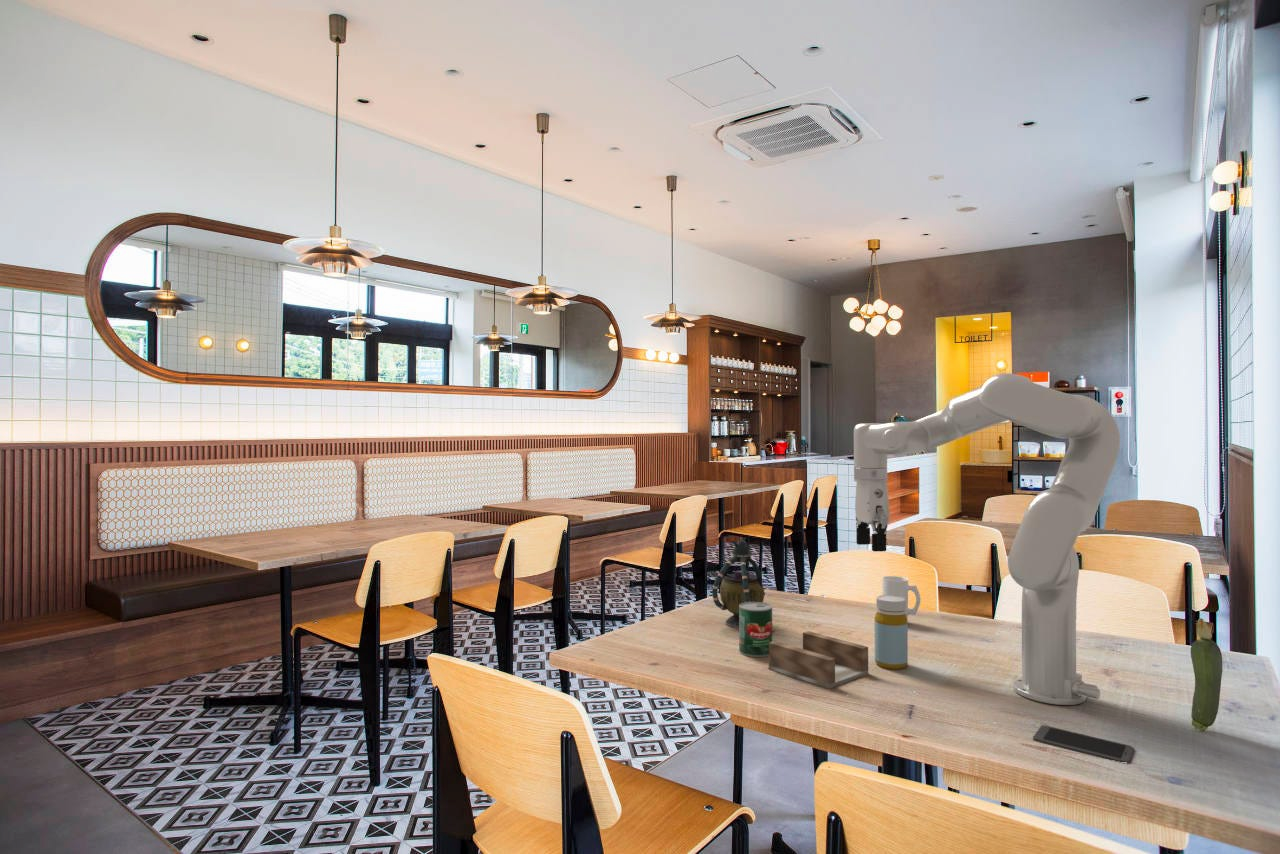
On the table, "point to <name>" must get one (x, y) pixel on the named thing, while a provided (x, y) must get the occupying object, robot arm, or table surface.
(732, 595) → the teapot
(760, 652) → the canned tomato
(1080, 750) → the cell phone
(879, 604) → the bottle
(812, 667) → the u rest
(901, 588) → the mug
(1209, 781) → the table surface
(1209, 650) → the vegetable
